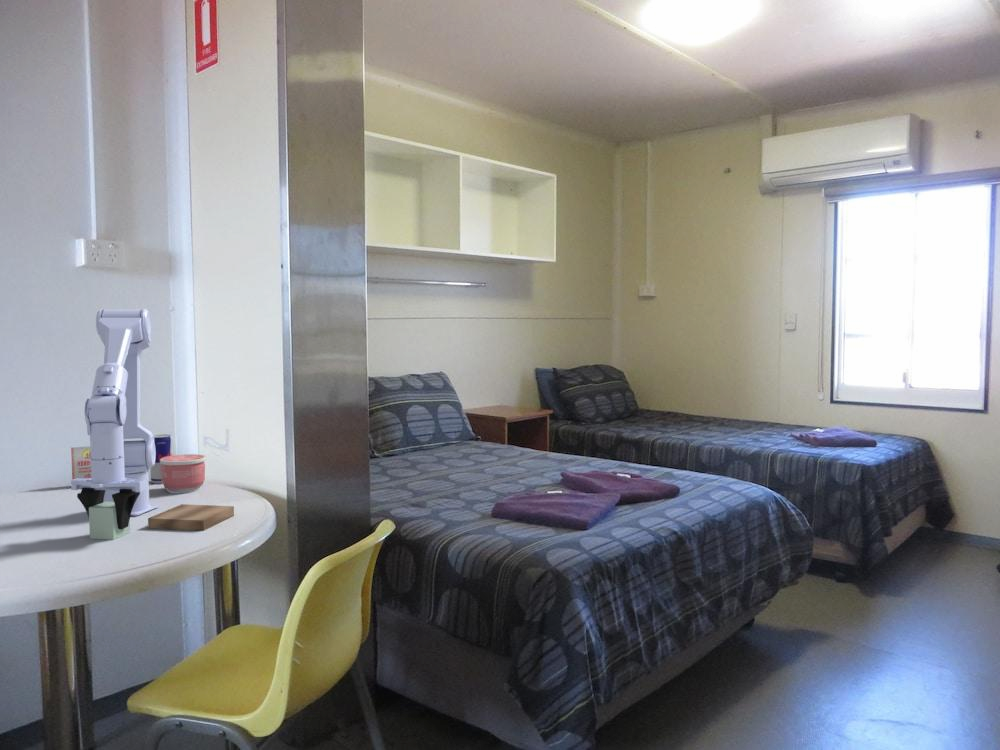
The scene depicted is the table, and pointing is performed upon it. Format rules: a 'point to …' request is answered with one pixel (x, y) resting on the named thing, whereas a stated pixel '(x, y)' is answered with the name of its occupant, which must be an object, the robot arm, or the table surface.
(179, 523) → the walnut base
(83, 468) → the printed cream box
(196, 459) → the container
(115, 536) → the sage block
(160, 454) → the energy drink
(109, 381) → the robot arm
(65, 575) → the table surface
